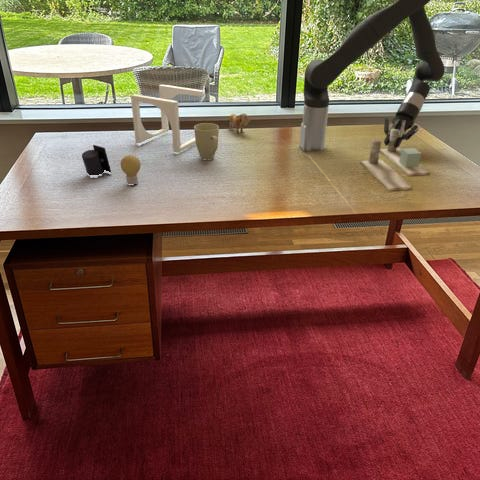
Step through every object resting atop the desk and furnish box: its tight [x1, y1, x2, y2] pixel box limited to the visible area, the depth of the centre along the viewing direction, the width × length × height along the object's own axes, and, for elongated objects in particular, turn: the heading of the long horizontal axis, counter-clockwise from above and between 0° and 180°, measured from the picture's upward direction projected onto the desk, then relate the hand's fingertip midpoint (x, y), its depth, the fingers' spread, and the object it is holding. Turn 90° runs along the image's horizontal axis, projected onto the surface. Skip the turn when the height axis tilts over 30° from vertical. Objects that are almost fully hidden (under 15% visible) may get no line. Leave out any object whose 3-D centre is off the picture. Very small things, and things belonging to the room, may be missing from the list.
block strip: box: [380, 128, 431, 176], centre depth 178 cm, size 8×24×9 cm, turn 10°
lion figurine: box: [226, 113, 251, 135], centre depth 209 cm, size 15×5×9 cm, turn 37°
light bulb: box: [120, 154, 142, 185], centre depth 160 cm, size 6×6×10 cm
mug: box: [193, 122, 220, 161], centre depth 180 cm, size 11×10×12 cm
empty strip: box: [360, 139, 413, 192], centre depth 167 cm, size 8×24×9 cm, turn 10°
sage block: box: [399, 147, 422, 167], centre depth 175 cm, size 5×5×5 cm
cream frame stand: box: [130, 84, 205, 153], centre depth 193 cm, size 20×20×20 cm
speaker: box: [81, 144, 112, 175], centre depth 167 cm, size 8×6×10 cm
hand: (390, 145), depth 186 cm, fingers closed on block strip, 3 cm apart
